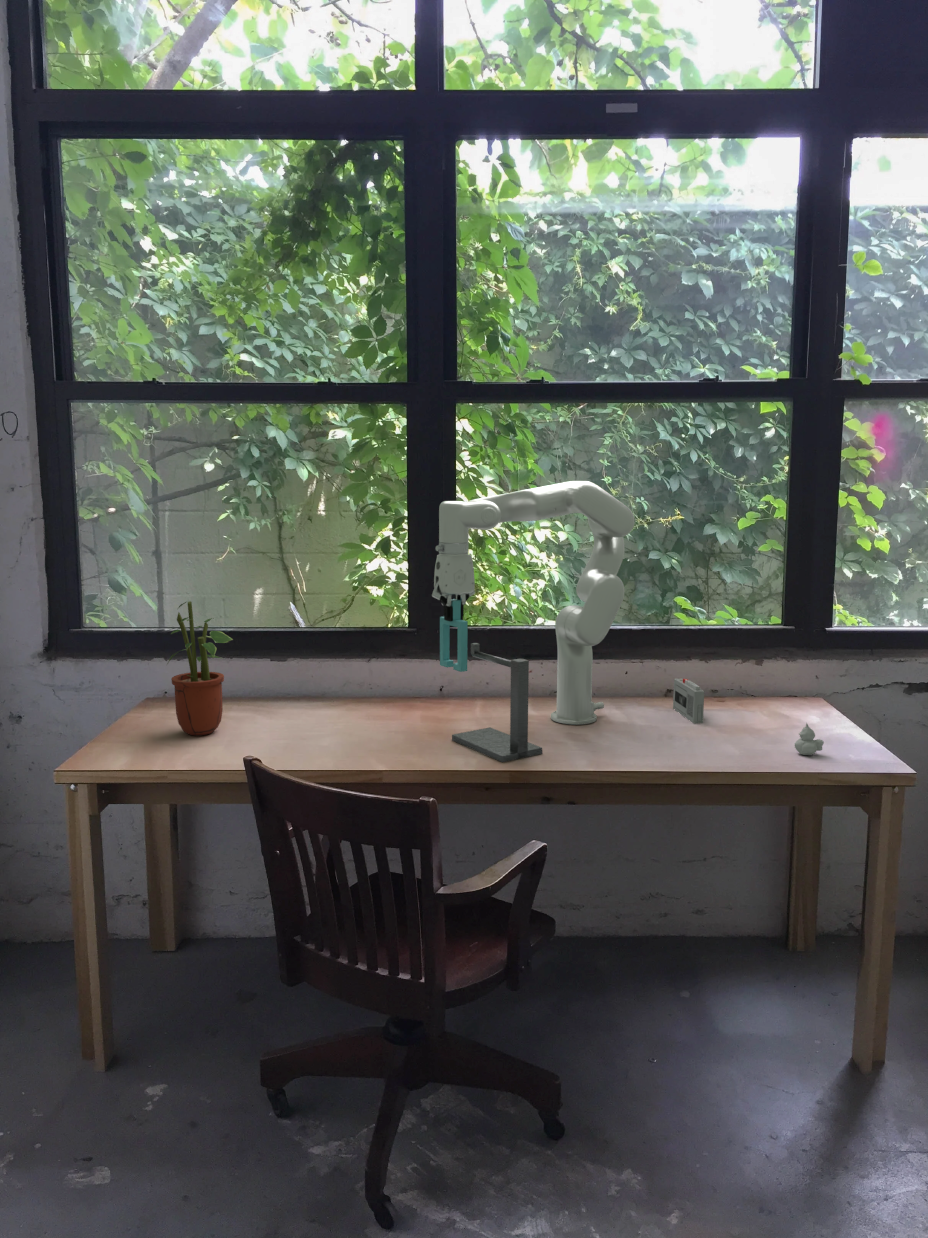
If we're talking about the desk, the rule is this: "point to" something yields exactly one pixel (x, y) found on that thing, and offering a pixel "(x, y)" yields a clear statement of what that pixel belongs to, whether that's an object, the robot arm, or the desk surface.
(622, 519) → the robot arm
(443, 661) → the teal link
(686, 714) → the cassette player
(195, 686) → the potted plant
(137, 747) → the desk surface
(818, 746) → the rubber duck
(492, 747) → the hook stand
